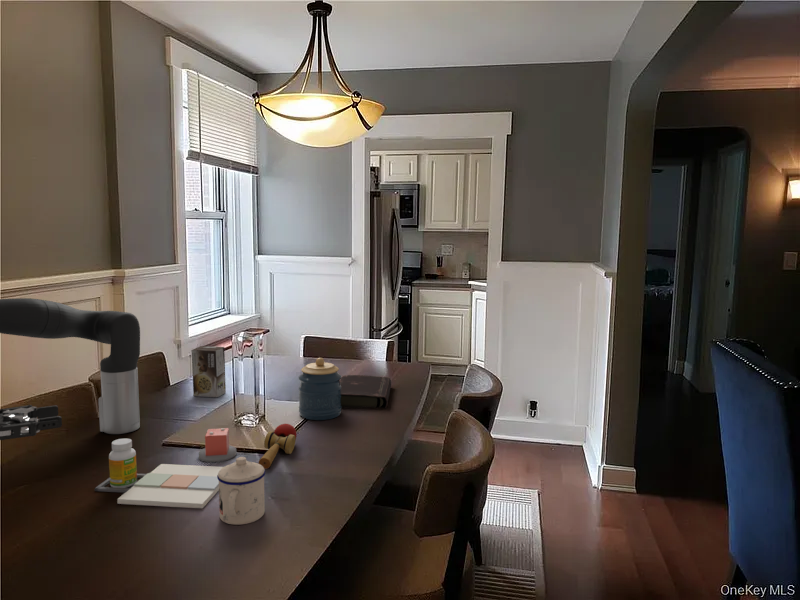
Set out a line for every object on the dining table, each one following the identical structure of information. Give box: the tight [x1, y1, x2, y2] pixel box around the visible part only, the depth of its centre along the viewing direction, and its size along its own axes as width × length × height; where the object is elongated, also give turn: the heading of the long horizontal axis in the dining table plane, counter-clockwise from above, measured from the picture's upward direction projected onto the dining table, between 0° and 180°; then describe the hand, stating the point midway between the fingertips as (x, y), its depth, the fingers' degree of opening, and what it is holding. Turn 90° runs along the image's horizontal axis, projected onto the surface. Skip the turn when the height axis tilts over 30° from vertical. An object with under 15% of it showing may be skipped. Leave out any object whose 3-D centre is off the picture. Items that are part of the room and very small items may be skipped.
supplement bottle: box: [108, 438, 138, 488], centre depth 127 cm, size 5×5×10 cm
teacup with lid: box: [217, 456, 266, 526], centre depth 112 cm, size 12×9×12 cm
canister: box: [298, 357, 342, 421], centre depth 176 cm, size 13×13×18 cm
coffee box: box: [191, 345, 227, 398], centre depth 196 cm, size 9×6×16 cm
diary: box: [340, 374, 392, 410], centre depth 196 cm, size 19×25×5 cm
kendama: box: [258, 423, 297, 470], centre depth 145 cm, size 8×6×18 cm
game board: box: [94, 463, 224, 509], centre depth 127 cm, size 26×18×1 cm
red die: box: [198, 427, 237, 463], centre depth 144 cm, size 9×9×6 cm
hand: (59, 415), depth 119 cm, fingers open, 8 cm apart
